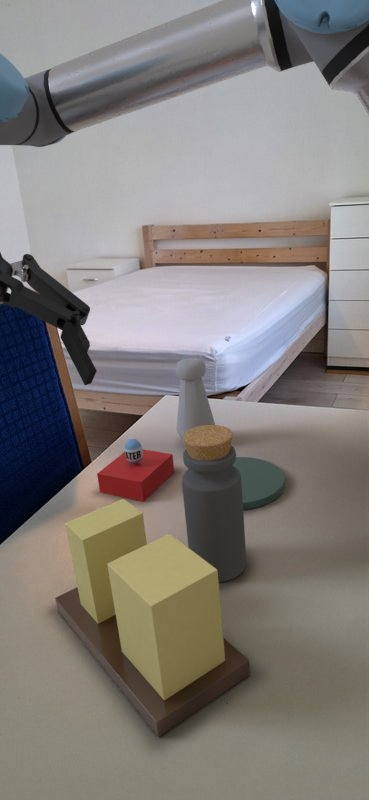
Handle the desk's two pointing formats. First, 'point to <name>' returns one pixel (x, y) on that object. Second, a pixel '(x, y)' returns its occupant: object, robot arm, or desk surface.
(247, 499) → the plate
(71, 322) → the robot arm
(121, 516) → the yellow rectangular block
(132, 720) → the desk surface
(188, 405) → the salt shaker
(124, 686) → the butter board
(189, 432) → the bottle
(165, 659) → the butter block
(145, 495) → the red box
